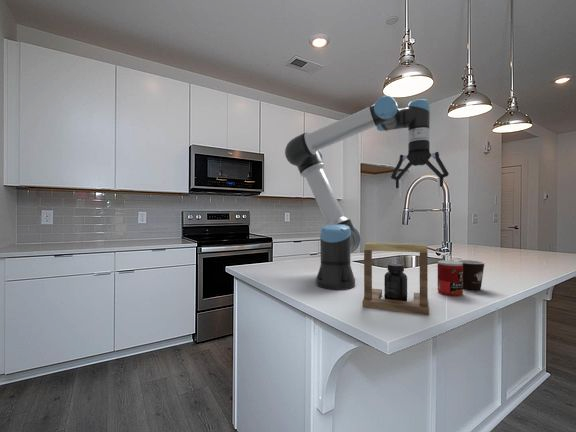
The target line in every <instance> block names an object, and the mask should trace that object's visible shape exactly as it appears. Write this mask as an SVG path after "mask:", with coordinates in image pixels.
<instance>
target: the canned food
mask: <svg viewBox="0 0 576 432" xmlns="http://www.w3.org/2000/svg"><path fill="white" fill-rule="evenodd" d="M437 292H438V294H441V295H444V296H448V297H461V296H462V295H463V293H464V290H463V263H462V262H458V260H447V259H445V260H438V261H437Z"/></svg>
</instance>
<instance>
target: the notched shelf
mask: <svg viewBox="0 0 576 432" xmlns="http://www.w3.org/2000/svg"><path fill="white" fill-rule="evenodd" d="M373 251H376V252H378V251H382V252H396V253H397V252H399V253H400V252H401V253H419V292H413V301H408V300H407V301H398V300H389V299H384V298H382V297H383V289H381V288H380V289H379V288H373V270H372V269H373ZM428 266H429V265H428V243H406V242H405V243H404V242H402V243H401V242H383V241H380V242H379V241H366V242H365V243H364V250H363V273H364V274H363V287H364V288H363V290H364V291H363V296H364V297H363V299H362V307H363V308H367V309H368V308H370V309H378V310H385V311H394V312H400V313H401V312H402V313H408V314H418V315H423V316H424V315H425V316H429V315H430V307H429V299H428V297H429V296H428V292H429V291H428V290H429V289H428V274H429V271H428Z"/></svg>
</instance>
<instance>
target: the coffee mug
mask: <svg viewBox="0 0 576 432" xmlns="http://www.w3.org/2000/svg"><path fill="white" fill-rule="evenodd" d="M457 261H458V262H462V263H463V291H467V290H468V291H467V292H480V291H482V282H483V277H484V276H483V275H484V270H485V262H484V261H481V260H479V261H478V260H471V259H460V260H457Z"/></svg>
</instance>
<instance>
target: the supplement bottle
mask: <svg viewBox="0 0 576 432" xmlns="http://www.w3.org/2000/svg"><path fill="white" fill-rule="evenodd" d="M404 272H405V266H404V264H401V263H388V264H387V272H386V273H385V274H384V281H383V282H384V283H383V284H384V286H383V287H384V288H383V289H384V290H383V292H384V293H383V294H384V295H383V296H384V298H383V299H389V300H398V301H407V302H408V275H407V274H406V273H404Z"/></svg>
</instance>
